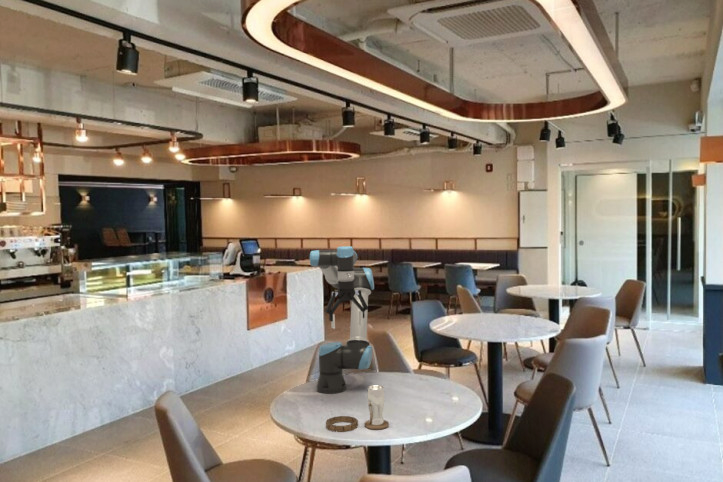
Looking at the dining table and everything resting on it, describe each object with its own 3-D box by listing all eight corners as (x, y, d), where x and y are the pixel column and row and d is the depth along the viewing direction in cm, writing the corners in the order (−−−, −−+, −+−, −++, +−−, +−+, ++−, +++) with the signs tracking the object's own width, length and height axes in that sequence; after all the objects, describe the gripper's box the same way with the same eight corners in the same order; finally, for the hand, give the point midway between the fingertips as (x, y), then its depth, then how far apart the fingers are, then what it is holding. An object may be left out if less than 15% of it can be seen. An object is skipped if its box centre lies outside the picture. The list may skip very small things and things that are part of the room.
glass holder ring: (322, 423, 242) (321, 419, 242) (350, 418, 247) (350, 414, 247) (332, 433, 230) (332, 428, 230) (362, 428, 235) (362, 423, 235)
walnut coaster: (360, 423, 241) (360, 421, 241) (382, 420, 244) (382, 417, 244) (370, 431, 231) (370, 429, 231) (392, 427, 235) (392, 425, 235)
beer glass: (369, 426, 234) (368, 390, 234) (367, 420, 241) (366, 385, 241) (386, 425, 235) (385, 389, 234) (383, 419, 242) (382, 384, 241)
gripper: (322, 282, 253) (324, 330, 254) (374, 279, 263) (375, 325, 264) (317, 281, 260) (318, 328, 261) (367, 278, 270) (369, 323, 270)
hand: (347, 326), depth 262 cm, fingers open, 13 cm apart
